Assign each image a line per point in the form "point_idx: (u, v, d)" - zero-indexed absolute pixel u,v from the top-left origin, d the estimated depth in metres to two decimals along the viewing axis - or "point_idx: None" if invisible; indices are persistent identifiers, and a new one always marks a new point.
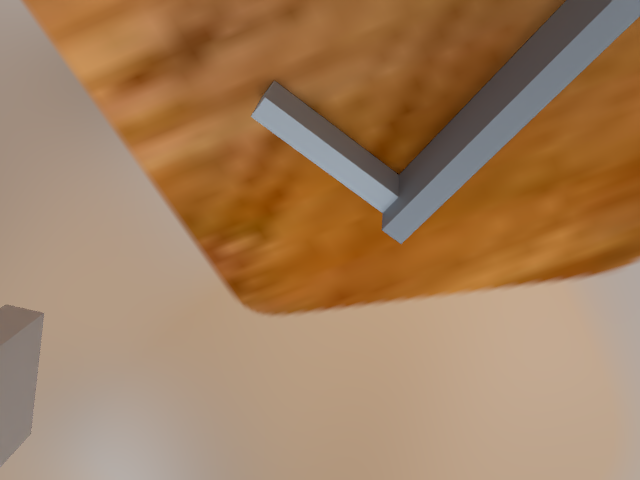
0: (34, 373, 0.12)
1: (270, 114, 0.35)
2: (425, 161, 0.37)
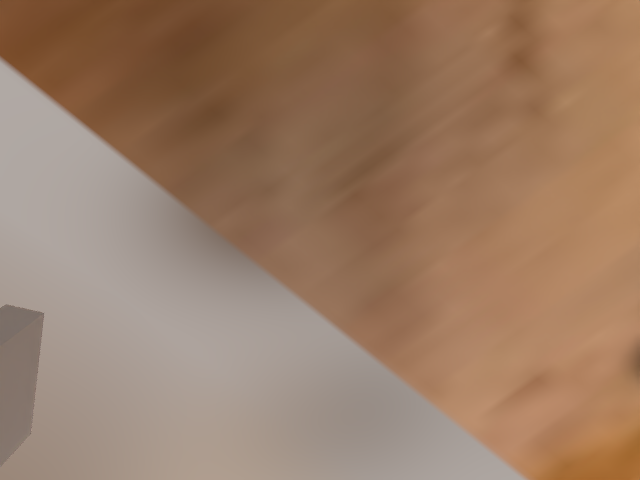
0: (34, 373, 0.12)
1: None
2: None
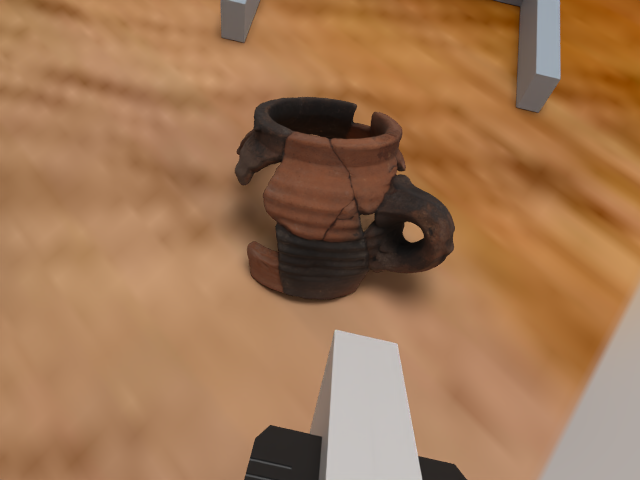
0: None
1: (546, 66, 0.37)
2: None
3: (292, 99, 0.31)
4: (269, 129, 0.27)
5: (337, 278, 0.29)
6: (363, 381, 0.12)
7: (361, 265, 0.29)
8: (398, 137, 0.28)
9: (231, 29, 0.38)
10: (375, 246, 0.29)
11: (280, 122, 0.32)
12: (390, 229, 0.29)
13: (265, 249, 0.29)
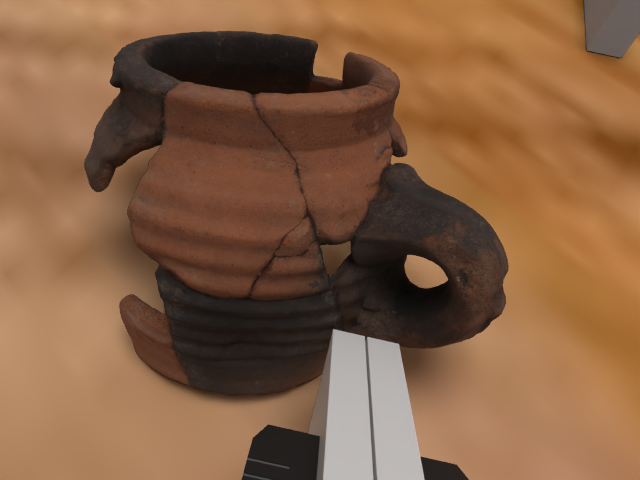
0: None
1: None
2: None
3: (201, 34, 0.17)
4: (134, 79, 0.14)
5: (285, 360, 0.16)
6: (365, 381, 0.12)
7: (329, 336, 0.15)
8: (393, 91, 0.15)
9: None
10: (355, 301, 0.15)
11: (182, 76, 0.18)
12: (382, 267, 0.15)
13: (148, 311, 0.16)
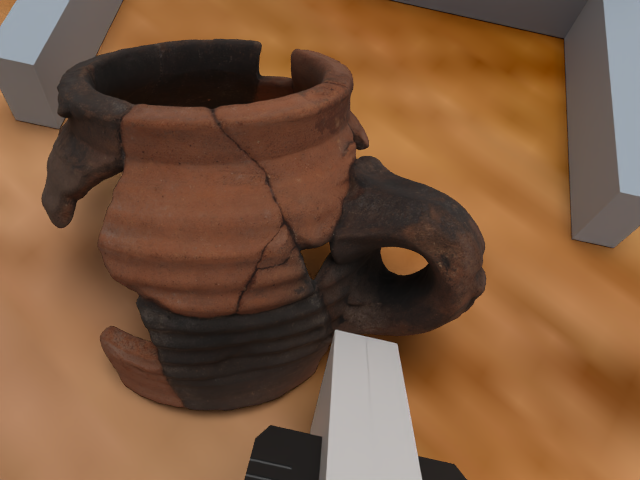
0: None
1: (637, 174, 0.19)
2: None
3: (140, 48, 0.17)
4: (84, 108, 0.13)
5: (278, 368, 0.16)
6: (363, 381, 0.12)
7: (319, 337, 0.15)
8: (348, 86, 0.15)
9: (27, 107, 0.20)
10: (339, 299, 0.15)
11: (127, 94, 0.17)
12: (362, 262, 0.15)
13: (132, 341, 0.15)
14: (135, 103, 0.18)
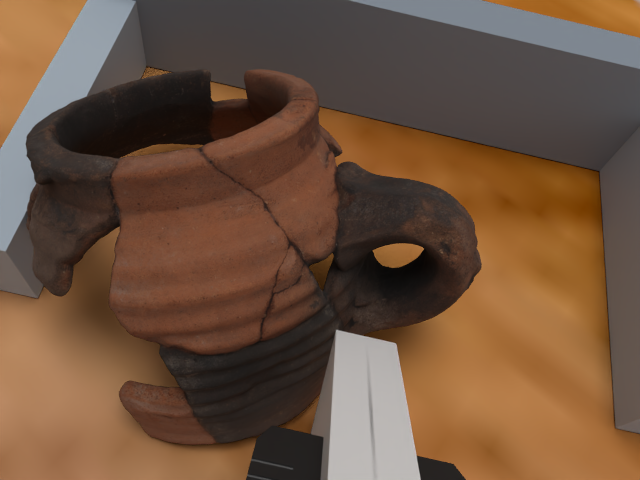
0: None
1: None
2: (561, 126, 0.22)
3: (92, 97, 0.17)
4: (67, 172, 0.13)
5: (302, 382, 0.16)
6: (362, 381, 0.12)
7: None
8: (316, 99, 0.15)
9: (1, 280, 0.17)
10: (349, 304, 0.16)
11: (87, 146, 0.17)
12: (361, 264, 0.16)
13: (155, 391, 0.15)
14: (94, 153, 0.18)
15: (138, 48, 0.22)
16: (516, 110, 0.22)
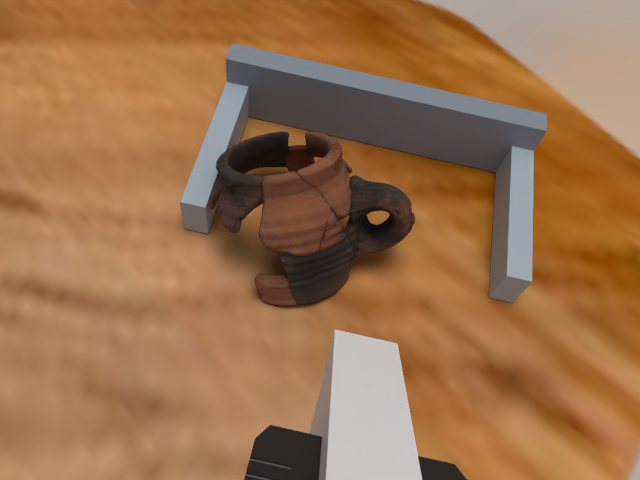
0: None
1: (517, 266, 0.36)
2: (470, 148, 0.41)
3: (237, 147, 0.36)
4: (243, 181, 0.32)
5: (335, 275, 0.35)
6: (363, 381, 0.12)
7: (350, 257, 0.35)
8: (340, 148, 0.34)
9: (193, 223, 0.37)
10: (356, 239, 0.35)
11: (234, 169, 0.36)
12: (361, 221, 0.35)
13: (271, 277, 0.34)
14: None
15: (246, 109, 0.42)
16: (446, 140, 0.41)
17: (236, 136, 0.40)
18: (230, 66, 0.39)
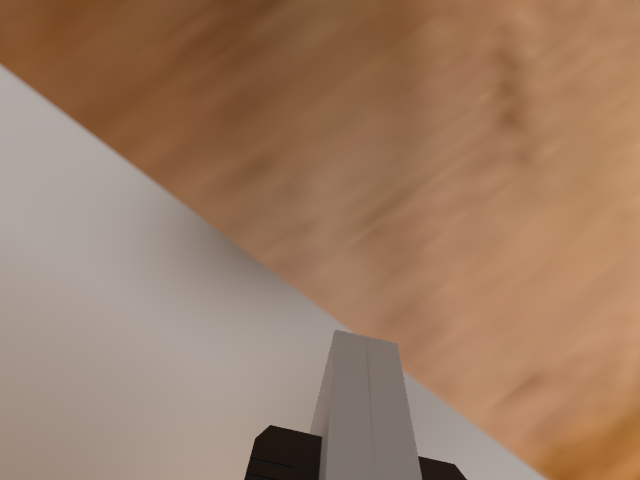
0: None
1: None
2: None
3: None
4: None
5: None
6: (363, 381, 0.12)
7: None
8: None
9: None
10: None
11: None
12: None
13: None
14: None
15: None
16: None
17: None
18: None
